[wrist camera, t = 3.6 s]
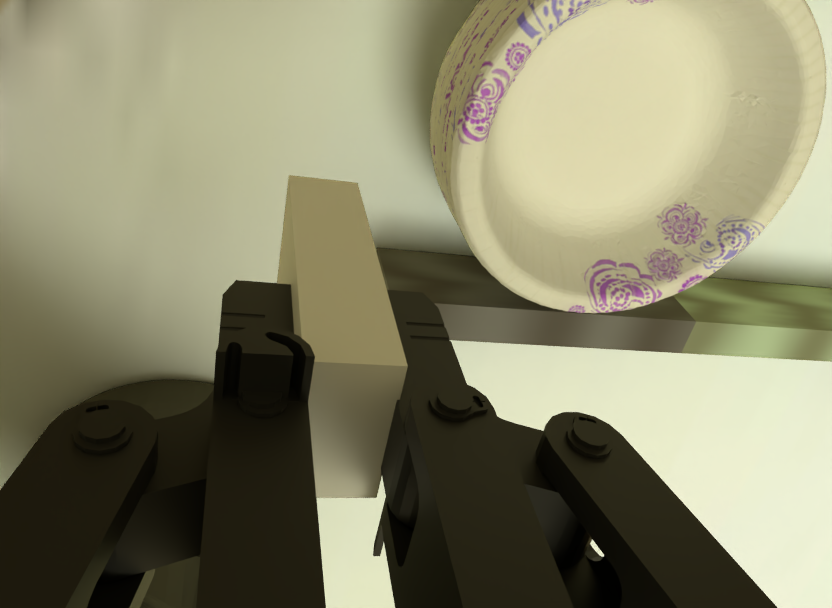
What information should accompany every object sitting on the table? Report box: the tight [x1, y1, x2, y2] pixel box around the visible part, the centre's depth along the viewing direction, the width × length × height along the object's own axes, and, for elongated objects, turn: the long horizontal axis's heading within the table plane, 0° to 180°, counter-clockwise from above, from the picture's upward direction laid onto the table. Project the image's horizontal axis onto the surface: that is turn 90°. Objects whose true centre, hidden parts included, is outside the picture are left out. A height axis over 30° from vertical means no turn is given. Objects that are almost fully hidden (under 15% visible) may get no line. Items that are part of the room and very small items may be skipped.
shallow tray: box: [376, 248, 832, 361], centre depth 35 cm, size 40×22×5 cm, turn 78°
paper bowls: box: [430, 0, 826, 313], centre depth 30 cm, size 15×15×8 cm
